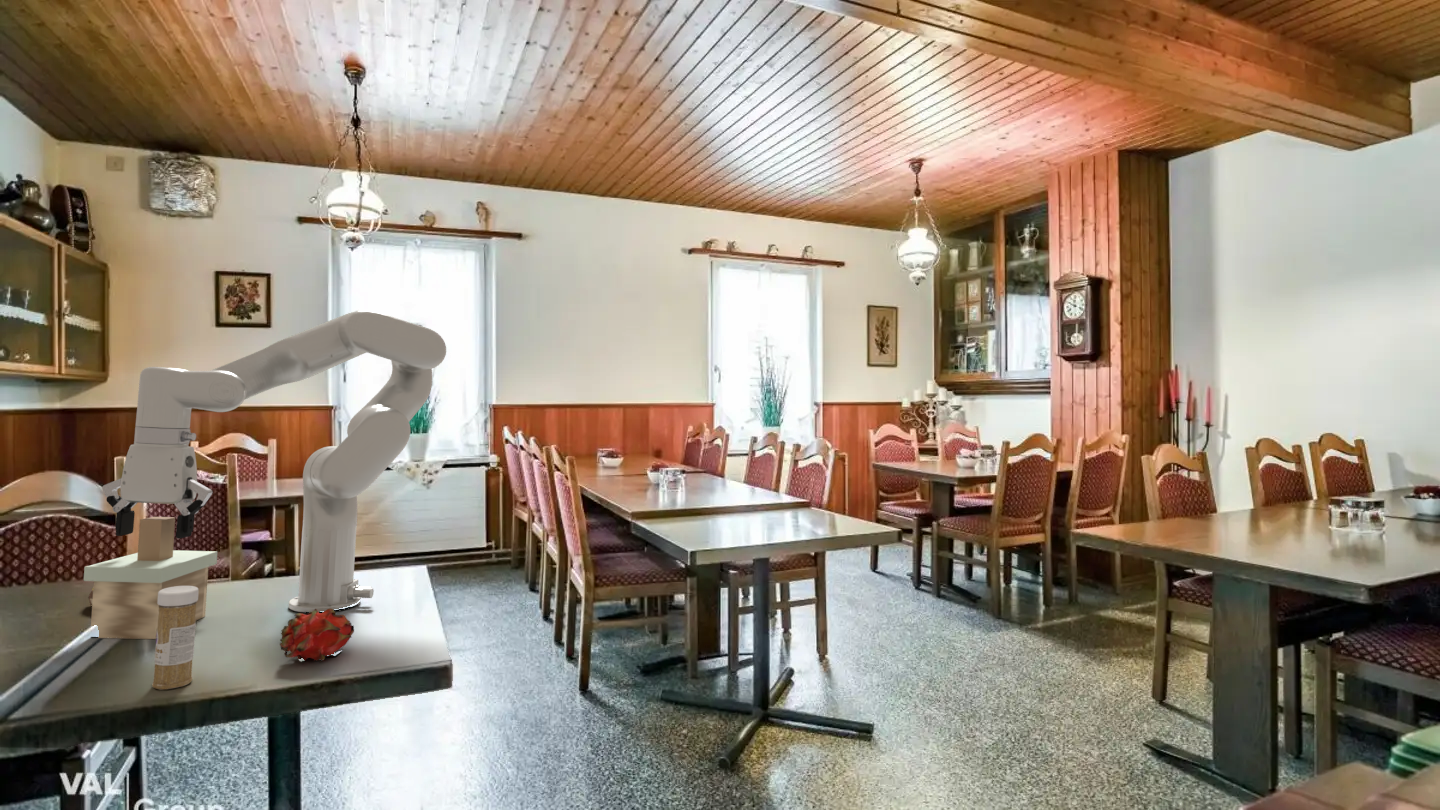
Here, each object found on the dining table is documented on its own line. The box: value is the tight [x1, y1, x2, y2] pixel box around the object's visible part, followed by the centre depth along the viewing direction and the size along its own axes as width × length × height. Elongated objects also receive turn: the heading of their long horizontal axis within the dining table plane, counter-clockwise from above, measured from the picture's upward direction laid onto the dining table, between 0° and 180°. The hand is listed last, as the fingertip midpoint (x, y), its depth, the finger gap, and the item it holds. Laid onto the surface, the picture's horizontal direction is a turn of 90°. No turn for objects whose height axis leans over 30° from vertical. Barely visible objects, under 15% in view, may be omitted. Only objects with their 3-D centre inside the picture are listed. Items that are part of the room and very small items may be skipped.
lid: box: [83, 516, 218, 583], centre depth 124 cm, size 12×15×9 cm
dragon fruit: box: [279, 608, 355, 661], centre depth 113 cm, size 8×8×12 cm
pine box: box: [90, 567, 209, 640], centre depth 124 cm, size 10×13×11 cm
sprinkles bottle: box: [151, 586, 198, 690], centre depth 100 cm, size 5×5×13 cm
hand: (154, 535), depth 124 cm, fingers open, 9 cm apart
